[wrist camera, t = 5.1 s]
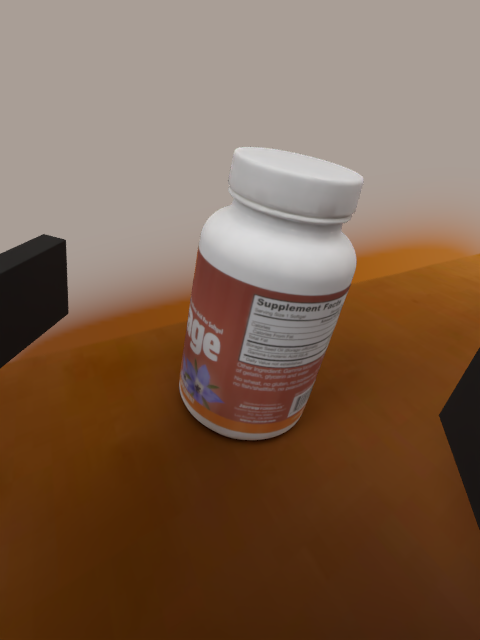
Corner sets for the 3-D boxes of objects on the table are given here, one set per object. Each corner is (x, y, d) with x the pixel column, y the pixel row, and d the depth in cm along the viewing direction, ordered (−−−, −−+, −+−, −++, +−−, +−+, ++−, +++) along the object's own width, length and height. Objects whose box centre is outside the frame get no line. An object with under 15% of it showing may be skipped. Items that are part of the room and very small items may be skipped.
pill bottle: (175, 355, 21) (204, 133, 16) (283, 361, 23) (344, 159, 17) (179, 447, 16) (224, 164, 11) (318, 446, 18) (422, 198, 12)
